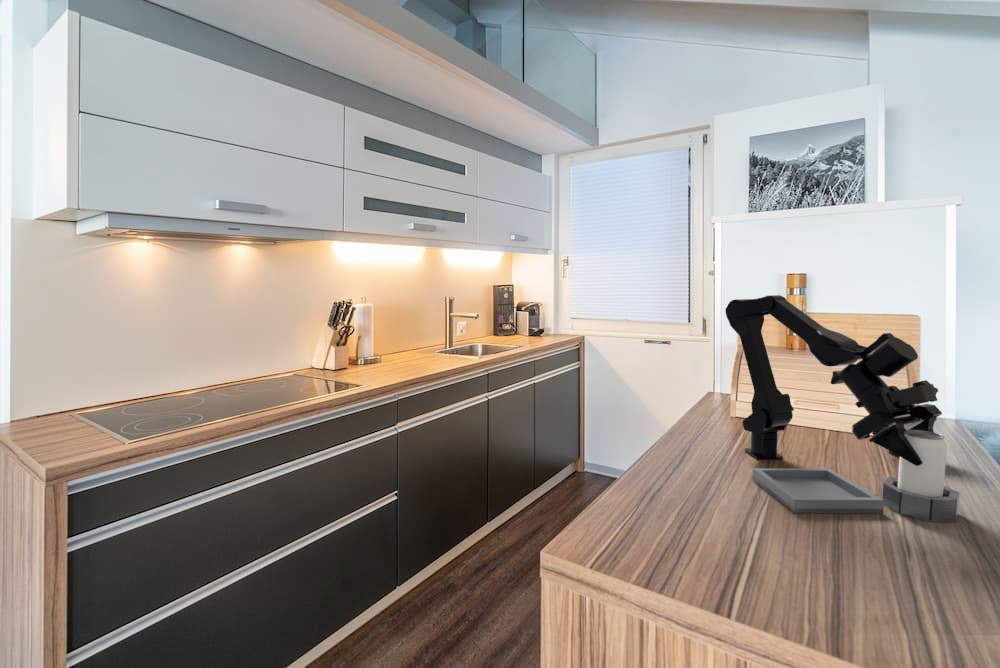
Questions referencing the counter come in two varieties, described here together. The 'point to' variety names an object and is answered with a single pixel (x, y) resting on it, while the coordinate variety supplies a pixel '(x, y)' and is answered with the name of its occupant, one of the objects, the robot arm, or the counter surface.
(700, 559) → the counter surface
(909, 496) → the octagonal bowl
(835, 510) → the tray
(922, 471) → the can
